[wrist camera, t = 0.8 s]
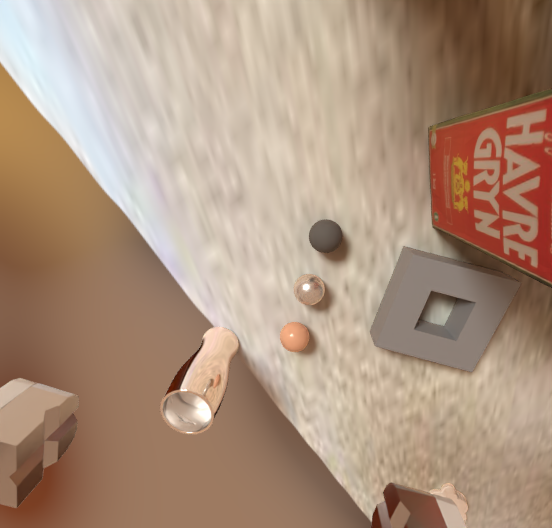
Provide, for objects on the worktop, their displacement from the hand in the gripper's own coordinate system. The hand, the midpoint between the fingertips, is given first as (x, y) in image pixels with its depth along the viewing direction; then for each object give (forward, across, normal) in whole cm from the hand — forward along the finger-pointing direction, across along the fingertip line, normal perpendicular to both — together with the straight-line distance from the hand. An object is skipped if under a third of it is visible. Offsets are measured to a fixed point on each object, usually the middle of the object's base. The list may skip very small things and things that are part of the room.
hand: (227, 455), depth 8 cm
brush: (+39, -40, +41) cm, 70 cm away
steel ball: (+37, -5, +8) cm, 38 cm away
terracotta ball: (+37, -5, +16) cm, 41 cm away
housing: (+37, -23, +6) cm, 44 cm away
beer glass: (+38, +6, +22) cm, 44 cm away
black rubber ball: (+37, -5, 0) cm, 37 cm away
